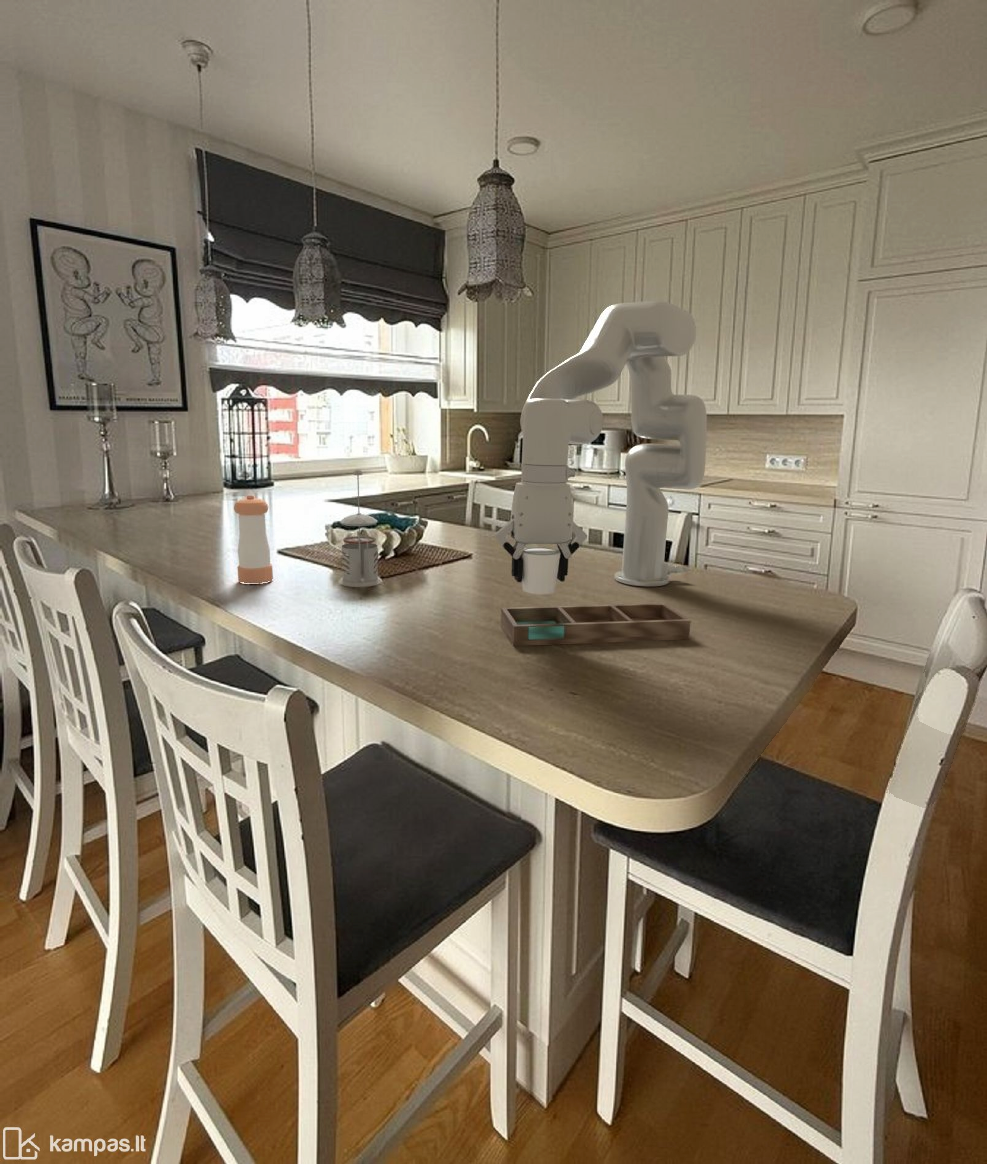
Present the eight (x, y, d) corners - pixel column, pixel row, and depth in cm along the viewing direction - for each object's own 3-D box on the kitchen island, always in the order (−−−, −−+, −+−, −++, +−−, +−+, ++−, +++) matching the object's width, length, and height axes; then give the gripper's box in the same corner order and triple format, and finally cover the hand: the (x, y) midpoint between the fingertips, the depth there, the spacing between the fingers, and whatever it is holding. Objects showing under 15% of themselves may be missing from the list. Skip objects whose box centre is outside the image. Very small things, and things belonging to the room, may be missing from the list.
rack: (662, 620, 128) (664, 603, 127) (690, 640, 117) (692, 621, 116) (500, 625, 122) (501, 607, 121) (513, 646, 111) (514, 627, 111)
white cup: (562, 587, 118) (565, 548, 116) (553, 597, 112) (555, 556, 110) (525, 583, 120) (526, 545, 118) (513, 592, 114) (515, 552, 112)
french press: (378, 575, 158) (376, 467, 151) (387, 587, 147) (385, 472, 141) (336, 577, 154) (332, 467, 148) (341, 590, 144) (337, 472, 138)
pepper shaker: (277, 582, 149) (272, 496, 144) (243, 586, 145) (237, 497, 140) (267, 575, 154) (262, 492, 150) (234, 579, 150) (228, 493, 146)
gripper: (587, 474, 116) (581, 574, 121) (488, 473, 113) (485, 575, 118) (601, 478, 109) (594, 584, 114) (496, 476, 106) (493, 586, 110)
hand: (539, 579), depth 115 cm, fingers closed on white cup, 6 cm apart
